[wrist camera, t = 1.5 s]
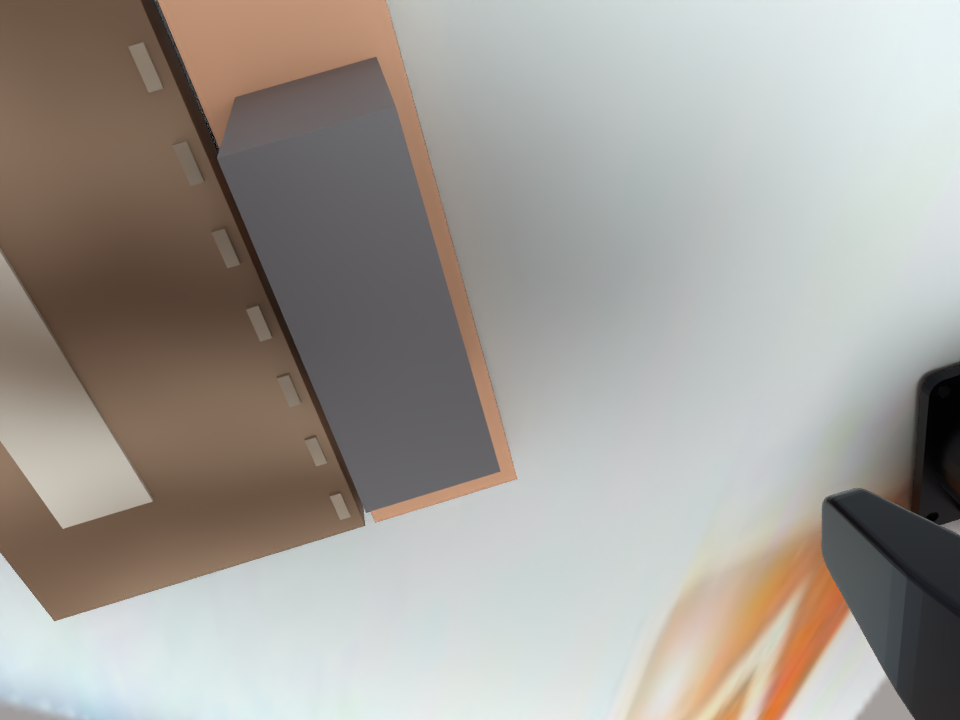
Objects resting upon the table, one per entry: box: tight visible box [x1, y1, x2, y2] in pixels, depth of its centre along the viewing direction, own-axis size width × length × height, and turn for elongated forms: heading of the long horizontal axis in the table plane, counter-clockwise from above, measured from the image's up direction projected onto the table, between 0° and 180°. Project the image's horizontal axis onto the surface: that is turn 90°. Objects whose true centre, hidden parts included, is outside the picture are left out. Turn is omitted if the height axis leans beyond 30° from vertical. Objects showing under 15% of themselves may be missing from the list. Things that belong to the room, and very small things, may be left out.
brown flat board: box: [0, 0, 365, 621], centre depth 19 cm, size 16×9×1 cm, turn 13°
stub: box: [158, 0, 517, 523], centre depth 18 cm, size 16×4×5 cm, turn 13°
